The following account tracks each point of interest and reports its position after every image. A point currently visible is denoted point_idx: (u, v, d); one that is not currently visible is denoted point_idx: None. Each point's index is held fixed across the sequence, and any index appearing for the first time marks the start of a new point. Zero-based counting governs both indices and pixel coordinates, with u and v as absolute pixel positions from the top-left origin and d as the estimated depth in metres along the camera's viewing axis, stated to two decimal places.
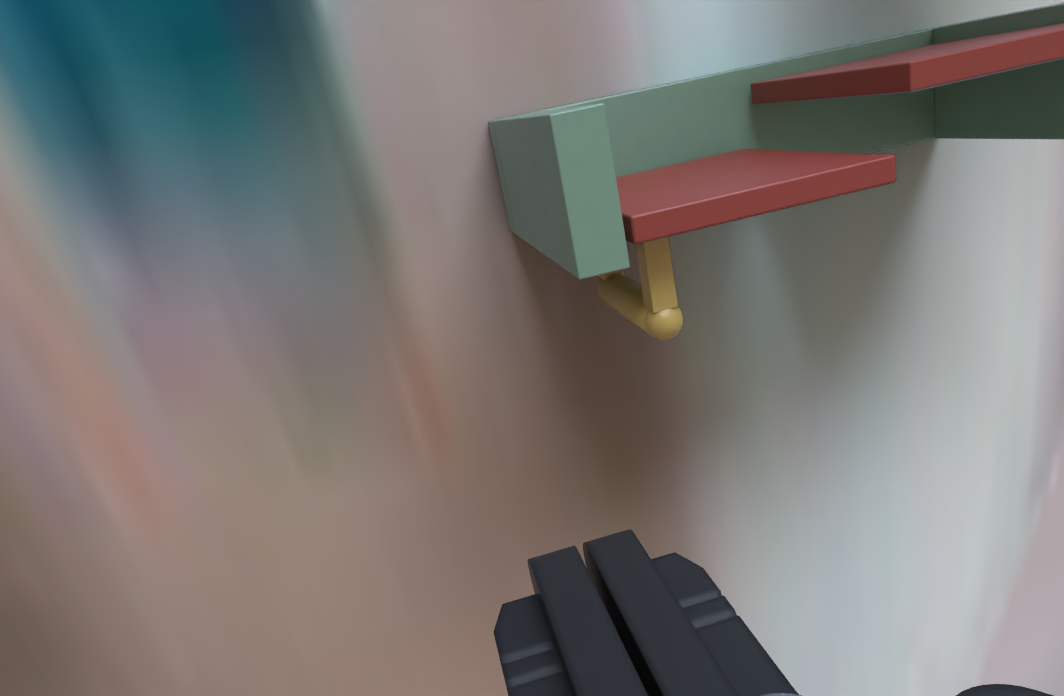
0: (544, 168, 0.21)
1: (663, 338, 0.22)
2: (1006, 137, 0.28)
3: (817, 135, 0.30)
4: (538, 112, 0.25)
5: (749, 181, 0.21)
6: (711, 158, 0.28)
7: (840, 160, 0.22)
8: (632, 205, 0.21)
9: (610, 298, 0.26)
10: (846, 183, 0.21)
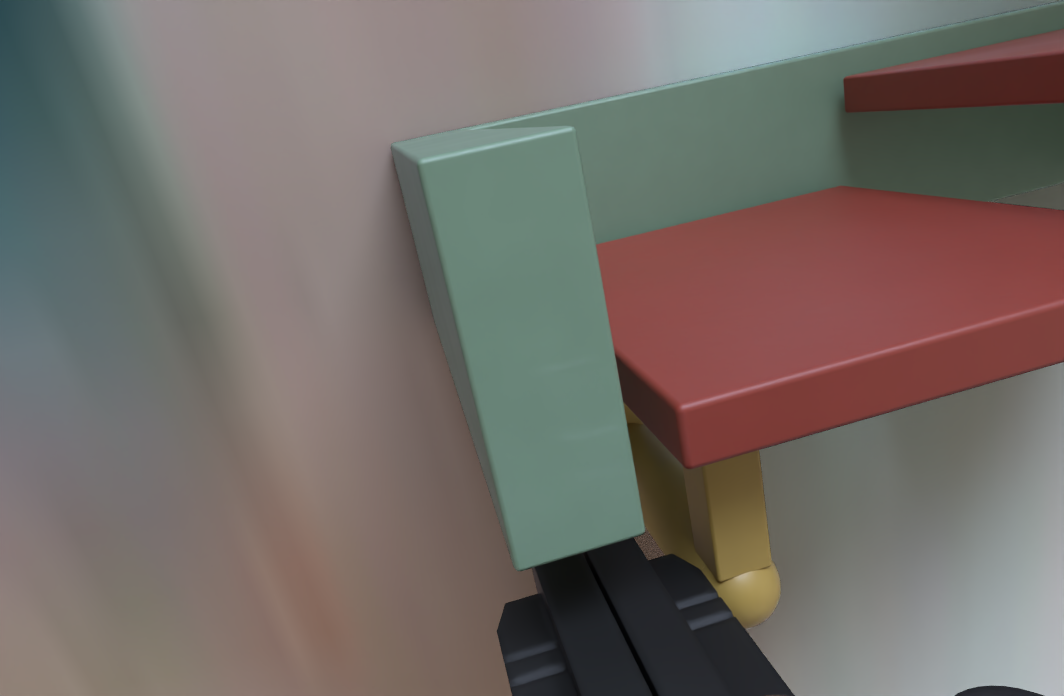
0: (437, 278, 0.09)
1: None
2: None
3: (947, 164, 0.18)
4: (458, 133, 0.13)
5: (942, 294, 0.09)
6: (791, 204, 0.16)
7: None
8: (673, 348, 0.09)
9: None
10: None
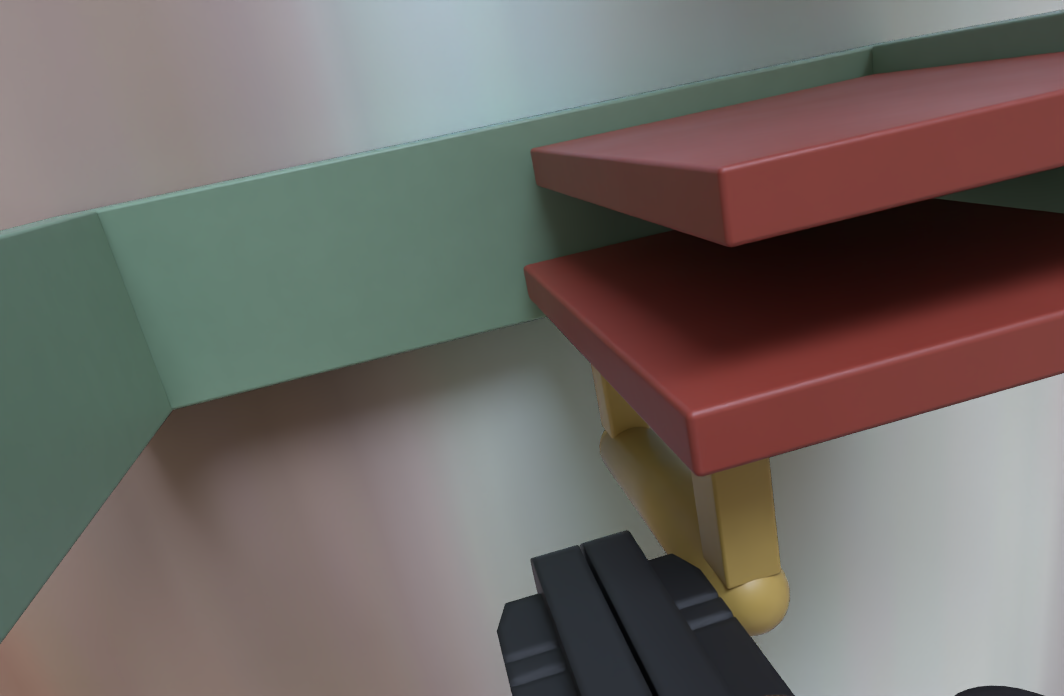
0: None
1: None
2: None
3: None
4: None
5: (954, 299, 0.09)
6: None
7: None
8: (682, 353, 0.09)
9: (624, 485, 0.13)
10: None
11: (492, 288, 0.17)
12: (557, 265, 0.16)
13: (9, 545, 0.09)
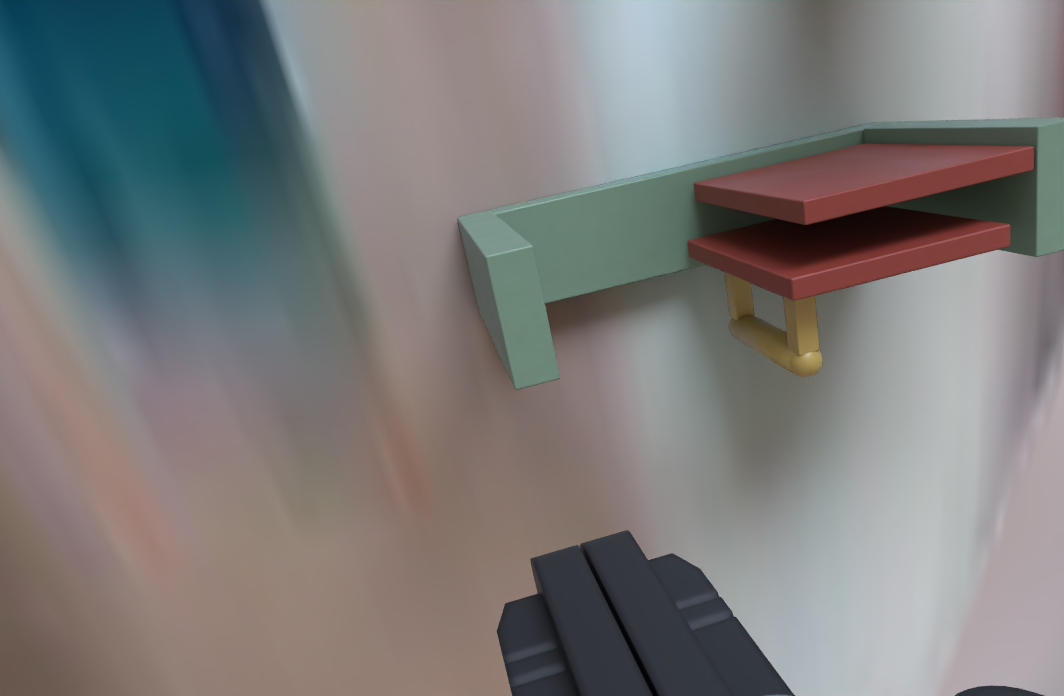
0: (488, 290, 0.24)
1: (805, 376, 0.26)
2: None
3: None
4: (494, 223, 0.28)
5: (883, 245, 0.25)
6: None
7: (960, 226, 0.26)
8: (783, 265, 0.26)
9: (746, 337, 0.30)
10: (968, 248, 0.25)
11: (669, 252, 0.33)
12: (706, 239, 0.32)
13: None
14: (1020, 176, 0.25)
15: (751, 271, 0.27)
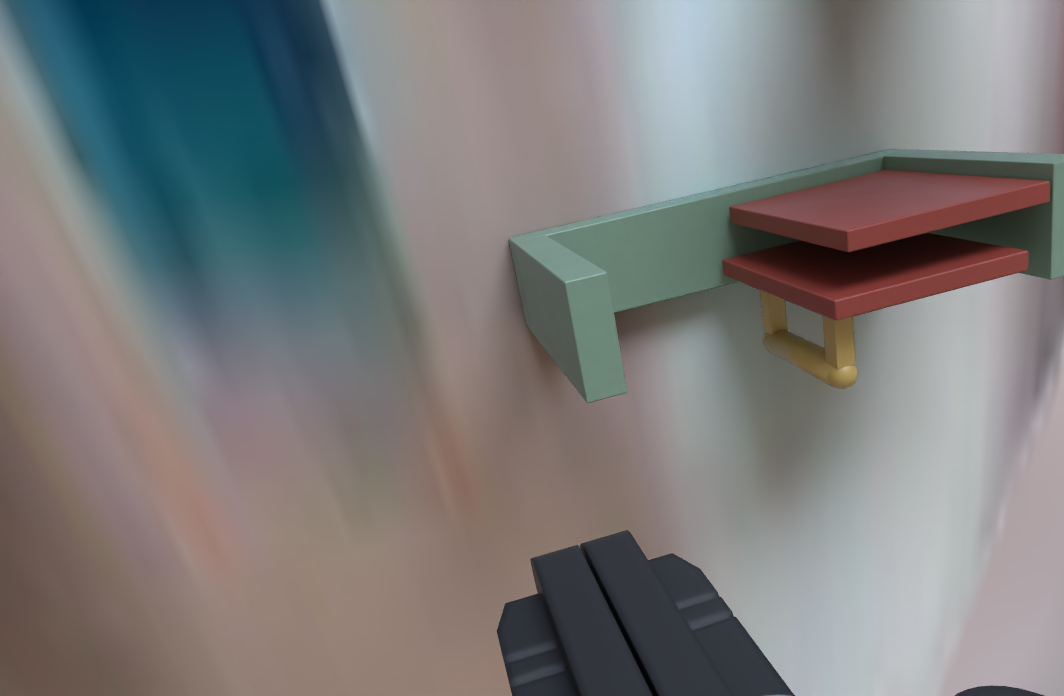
0: (559, 311, 0.26)
1: (842, 387, 0.29)
2: None
3: None
4: (552, 246, 0.30)
5: (914, 269, 0.28)
6: None
7: (982, 251, 0.28)
8: (824, 287, 0.28)
9: (782, 350, 0.32)
10: (991, 272, 0.27)
11: (705, 270, 0.35)
12: (741, 259, 0.34)
13: None
14: (1036, 206, 0.28)
15: (792, 291, 0.29)
